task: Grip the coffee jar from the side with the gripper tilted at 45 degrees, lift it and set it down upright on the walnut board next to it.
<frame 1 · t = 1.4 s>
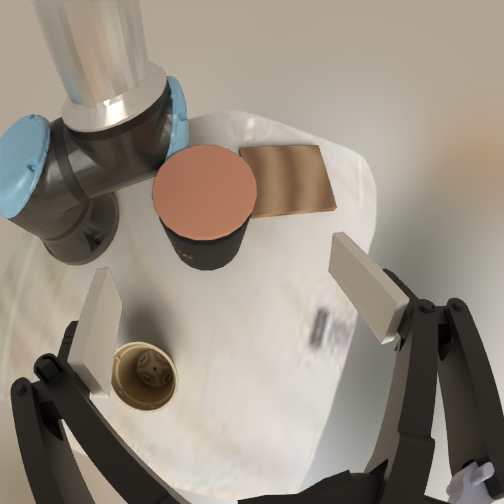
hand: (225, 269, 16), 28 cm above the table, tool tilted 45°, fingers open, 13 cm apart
walnut board: (286, 180, 49), on the table
coffee jar: (207, 239, 45), on the table
flower pot: (154, 367, 39), on the table
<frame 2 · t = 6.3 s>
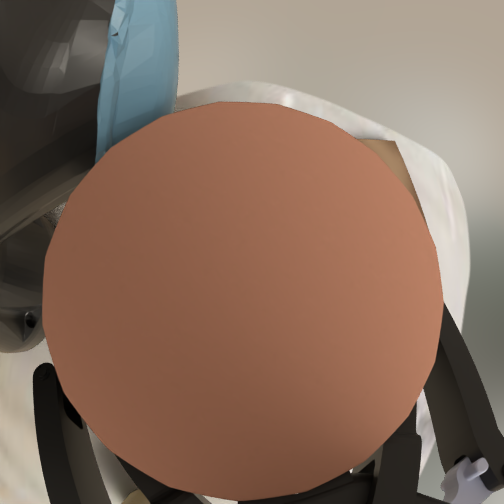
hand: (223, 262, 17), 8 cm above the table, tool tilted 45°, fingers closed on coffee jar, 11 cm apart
walnut board: (356, 197, 28), on the table
coffee jar: (226, 315, 23), on the table, touching gripper
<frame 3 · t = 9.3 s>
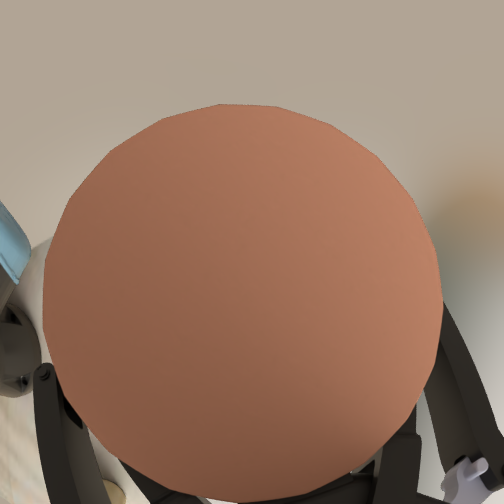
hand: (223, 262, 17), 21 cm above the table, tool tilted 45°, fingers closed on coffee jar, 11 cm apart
coffee jar: (226, 316, 23), point 13 cm above the table, touching gripper
flower pot: (107, 492, 27), on the table
when the fingers open (11 cm above the table, at t = 12.6 s): coffee jar drops 1 cm, resting on walnut board.
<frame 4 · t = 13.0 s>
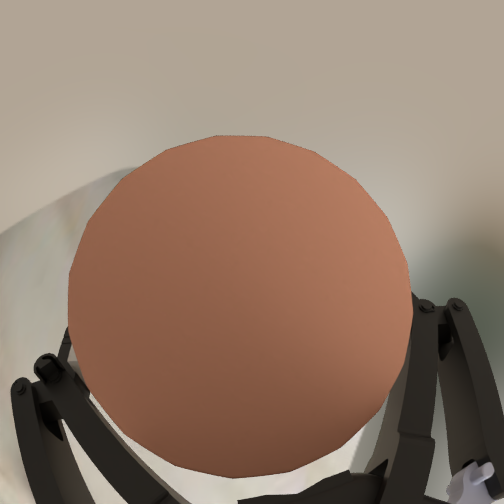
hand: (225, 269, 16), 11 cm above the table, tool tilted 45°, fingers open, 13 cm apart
coffee jar: (225, 317, 25), point 1 cm above the table, touching walnut board
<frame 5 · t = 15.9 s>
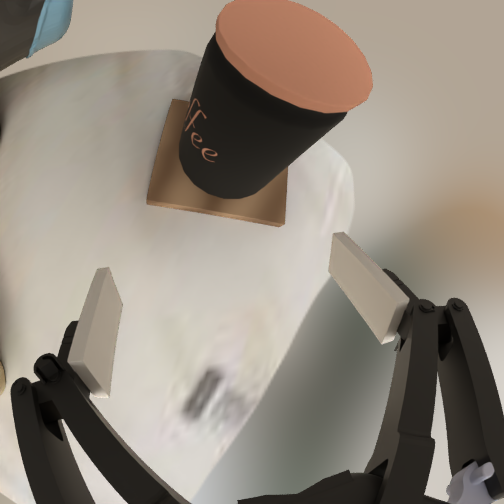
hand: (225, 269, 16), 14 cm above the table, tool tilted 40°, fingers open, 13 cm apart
walnut board: (222, 162, 31), on the table
coffee jar: (225, 158, 30), point 1 cm above the table, touching walnut board
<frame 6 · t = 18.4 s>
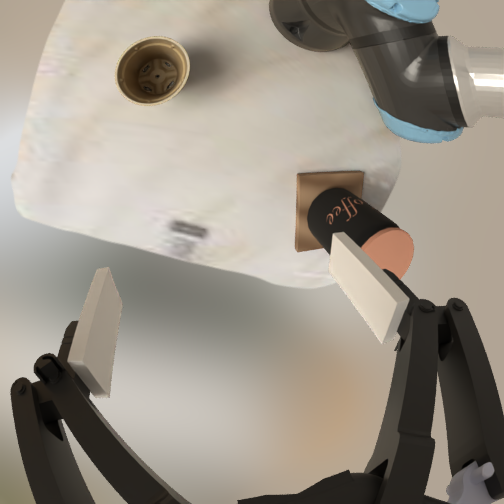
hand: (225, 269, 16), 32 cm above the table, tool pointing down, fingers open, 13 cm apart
walnut board: (327, 209, 53), on the table
coffee jar: (330, 212, 51), point 1 cm above the table, touching walnut board
flower pot: (158, 76, 35), on the table
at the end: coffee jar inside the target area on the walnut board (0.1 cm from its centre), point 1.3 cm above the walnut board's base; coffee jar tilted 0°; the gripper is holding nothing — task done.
